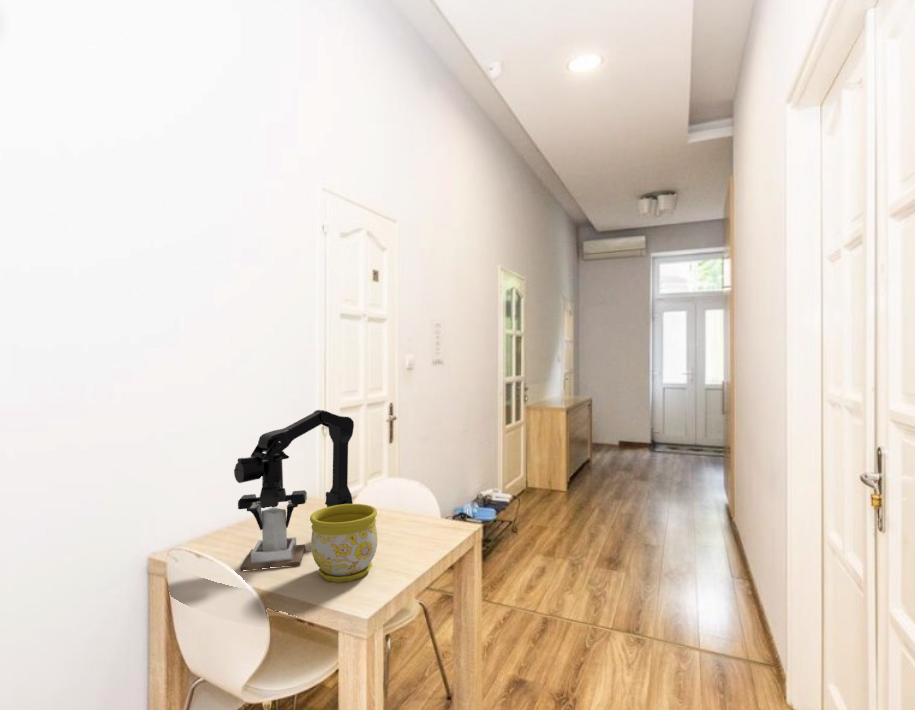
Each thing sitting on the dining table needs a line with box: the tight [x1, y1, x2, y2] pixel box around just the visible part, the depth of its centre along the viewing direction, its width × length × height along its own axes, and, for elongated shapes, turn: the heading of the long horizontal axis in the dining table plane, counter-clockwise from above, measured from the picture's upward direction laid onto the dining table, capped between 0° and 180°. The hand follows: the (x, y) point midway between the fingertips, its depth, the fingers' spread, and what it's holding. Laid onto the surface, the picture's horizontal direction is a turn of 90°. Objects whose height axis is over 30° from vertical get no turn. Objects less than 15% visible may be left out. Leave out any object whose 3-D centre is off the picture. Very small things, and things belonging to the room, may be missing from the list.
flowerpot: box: [309, 503, 378, 583], centre depth 140 cm, size 18×18×16 cm
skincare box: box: [261, 507, 288, 551], centre depth 151 cm, size 6×4×12 cm
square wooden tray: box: [240, 543, 306, 572], centre depth 151 cm, size 16×14×1 cm
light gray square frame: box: [251, 536, 297, 564], centre depth 151 cm, size 11×11×3 cm
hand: (274, 528), depth 151 cm, fingers closed on skincare box, 7 cm apart
